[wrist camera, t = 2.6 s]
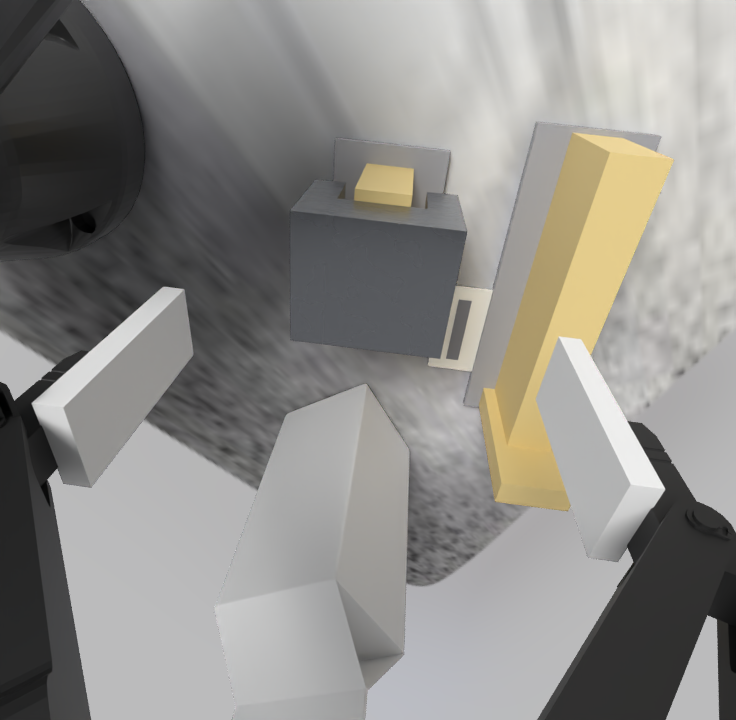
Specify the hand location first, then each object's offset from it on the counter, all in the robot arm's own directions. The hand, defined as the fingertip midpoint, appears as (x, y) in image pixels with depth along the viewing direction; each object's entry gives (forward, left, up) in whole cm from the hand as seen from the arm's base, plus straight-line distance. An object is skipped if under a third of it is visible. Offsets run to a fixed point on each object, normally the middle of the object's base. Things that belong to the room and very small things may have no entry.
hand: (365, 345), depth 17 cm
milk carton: (-1, -16, -13) cm, 20 cm away
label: (+5, -6, -13) cm, 15 cm away
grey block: (0, 0, -10) cm, 10 cm away
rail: (+10, -3, -13) cm, 16 cm away
